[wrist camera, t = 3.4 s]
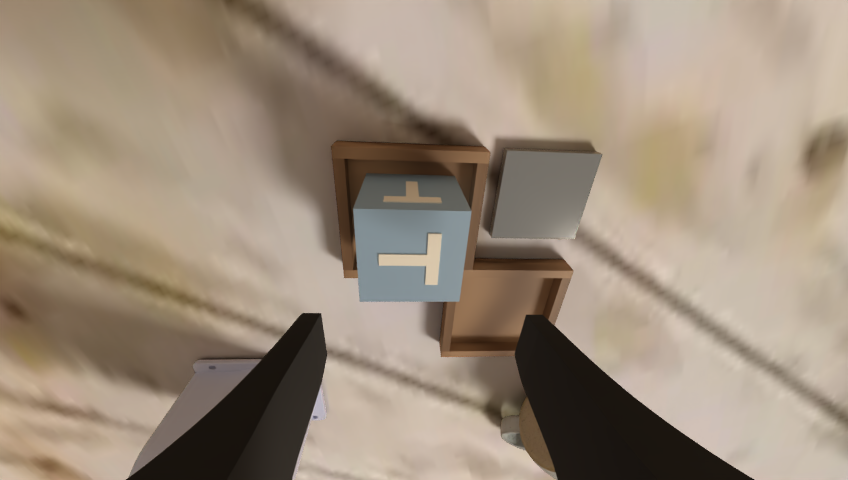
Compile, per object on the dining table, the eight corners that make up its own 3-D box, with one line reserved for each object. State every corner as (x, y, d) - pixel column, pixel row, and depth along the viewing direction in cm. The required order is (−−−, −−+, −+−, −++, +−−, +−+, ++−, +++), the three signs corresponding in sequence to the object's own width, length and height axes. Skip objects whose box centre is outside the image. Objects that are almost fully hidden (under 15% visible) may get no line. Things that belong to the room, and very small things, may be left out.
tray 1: (347, 265, 20) (344, 277, 19) (336, 140, 16) (331, 146, 15) (467, 266, 21) (470, 278, 20) (484, 146, 17) (490, 152, 16)
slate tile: (489, 233, 20) (491, 237, 19) (504, 148, 17) (507, 150, 17) (569, 234, 20) (574, 239, 20) (596, 151, 17) (602, 154, 17)
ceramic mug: (565, 359, 26) (618, 457, 20) (614, 394, 29) (673, 490, 23) (478, 414, 30) (497, 512, 24) (528, 440, 33) (558, 534, 26)
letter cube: (370, 249, 19) (359, 302, 15) (366, 172, 17) (352, 207, 12) (447, 250, 20) (459, 302, 15) (454, 174, 17) (471, 210, 13)
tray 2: (439, 342, 25) (441, 356, 23) (448, 257, 21) (450, 269, 19) (536, 341, 25) (543, 355, 24) (564, 259, 21) (573, 270, 20)
